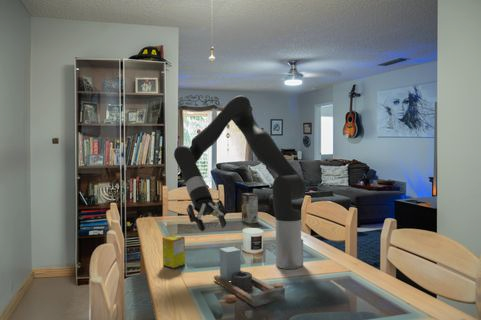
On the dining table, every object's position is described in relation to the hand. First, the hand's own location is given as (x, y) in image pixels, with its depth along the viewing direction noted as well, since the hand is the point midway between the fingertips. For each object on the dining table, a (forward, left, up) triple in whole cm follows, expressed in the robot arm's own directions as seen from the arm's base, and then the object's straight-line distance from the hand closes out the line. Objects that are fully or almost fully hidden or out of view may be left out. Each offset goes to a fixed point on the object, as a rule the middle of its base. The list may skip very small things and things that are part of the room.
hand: (214, 228), depth 139 cm
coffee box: (-56, -67, -15) cm, 89 cm away
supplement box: (+11, -12, -15) cm, 22 cm away
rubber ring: (0, +18, -15) cm, 24 cm away
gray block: (0, +11, -15) cm, 19 cm away
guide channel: (0, +21, -15) cm, 26 cm away
